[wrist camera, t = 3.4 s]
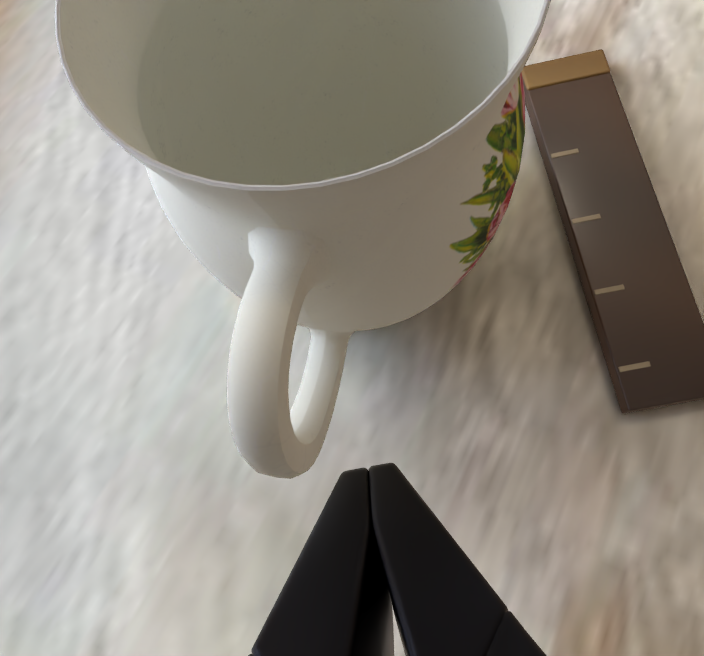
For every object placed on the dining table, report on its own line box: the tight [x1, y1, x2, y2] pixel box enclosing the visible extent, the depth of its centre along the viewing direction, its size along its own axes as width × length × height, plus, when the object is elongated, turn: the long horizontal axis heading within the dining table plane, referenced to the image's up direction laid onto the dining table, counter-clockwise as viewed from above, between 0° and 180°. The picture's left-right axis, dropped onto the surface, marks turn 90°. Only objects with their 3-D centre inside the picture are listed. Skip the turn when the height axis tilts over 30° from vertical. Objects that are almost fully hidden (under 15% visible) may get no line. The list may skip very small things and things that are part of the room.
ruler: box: [521, 49, 704, 414], centre depth 23 cm, size 15×4×1 cm, turn 9°
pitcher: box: [55, 0, 551, 479], centre depth 18 cm, size 11×18×14 cm, turn 172°
